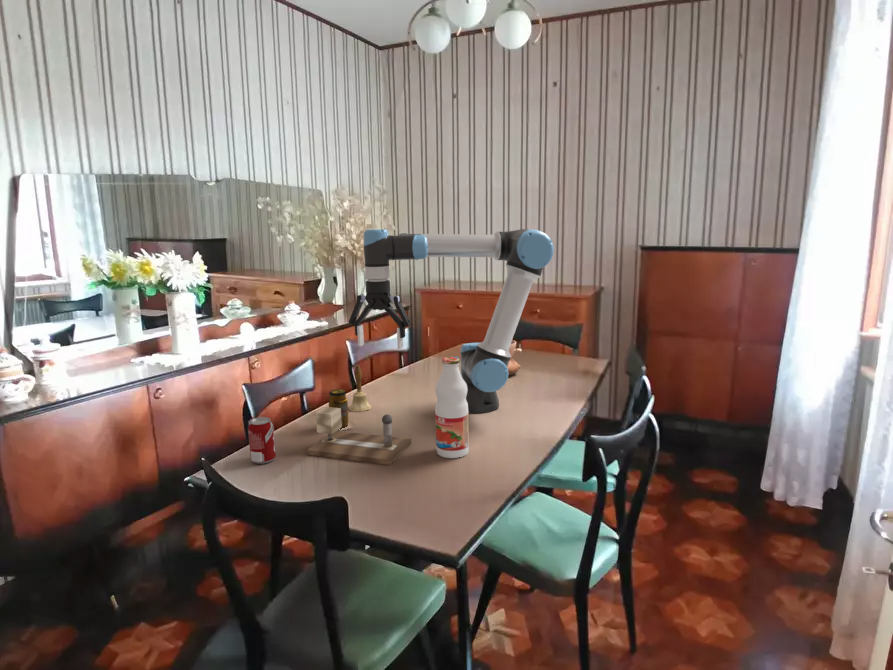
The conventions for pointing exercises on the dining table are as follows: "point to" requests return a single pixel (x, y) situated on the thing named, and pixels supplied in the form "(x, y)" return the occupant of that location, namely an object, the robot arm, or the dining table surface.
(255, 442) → the soda can
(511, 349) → the ceramic jug
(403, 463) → the dining table surface
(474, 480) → the dining table surface
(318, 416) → the leg
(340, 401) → the condiment
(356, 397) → the hand bell
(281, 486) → the dining table surface
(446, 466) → the dining table surface
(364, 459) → the hole plate
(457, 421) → the fruit juice
